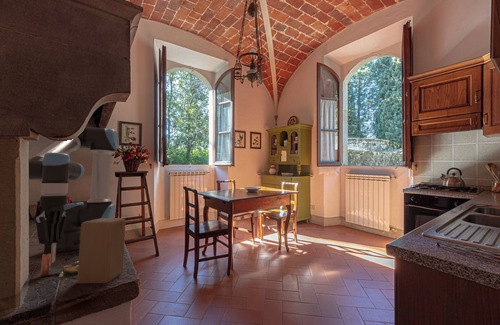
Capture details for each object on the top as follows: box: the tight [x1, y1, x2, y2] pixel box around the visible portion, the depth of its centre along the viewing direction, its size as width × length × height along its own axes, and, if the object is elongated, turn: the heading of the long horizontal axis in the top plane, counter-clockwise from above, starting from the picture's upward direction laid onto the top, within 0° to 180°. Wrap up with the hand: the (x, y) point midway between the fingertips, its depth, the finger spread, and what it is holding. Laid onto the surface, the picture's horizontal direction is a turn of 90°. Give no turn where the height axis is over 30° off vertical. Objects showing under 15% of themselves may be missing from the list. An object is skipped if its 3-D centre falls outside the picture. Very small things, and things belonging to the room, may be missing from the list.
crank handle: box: [40, 253, 79, 277], centre depth 81 cm, size 13×7×7 cm, turn 119°
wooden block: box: [76, 217, 126, 284], centre depth 78 cm, size 10×10×20 cm
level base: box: [56, 271, 78, 279], centre depth 82 cm, size 9×9×2 cm
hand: (49, 262), depth 80 cm, fingers closed
